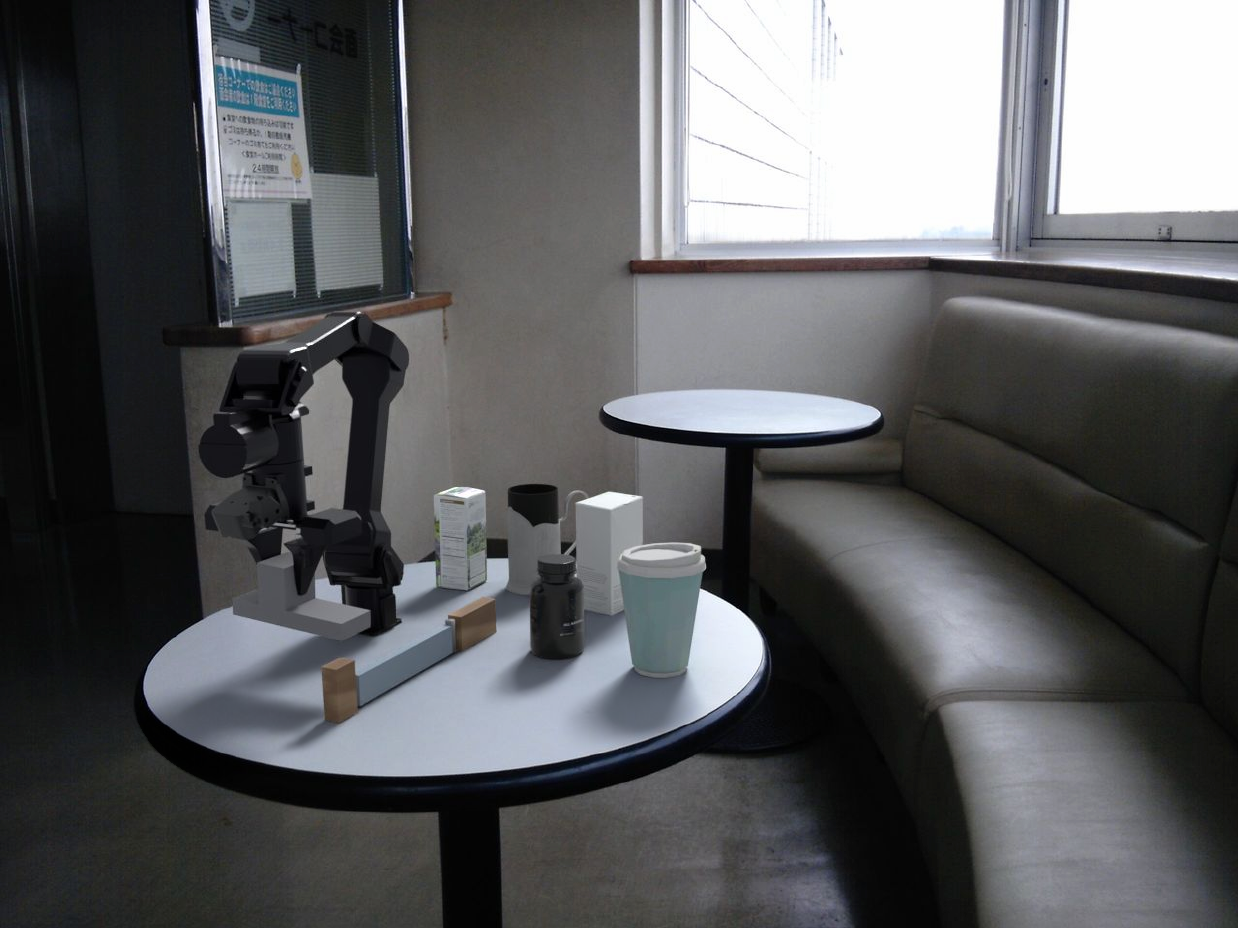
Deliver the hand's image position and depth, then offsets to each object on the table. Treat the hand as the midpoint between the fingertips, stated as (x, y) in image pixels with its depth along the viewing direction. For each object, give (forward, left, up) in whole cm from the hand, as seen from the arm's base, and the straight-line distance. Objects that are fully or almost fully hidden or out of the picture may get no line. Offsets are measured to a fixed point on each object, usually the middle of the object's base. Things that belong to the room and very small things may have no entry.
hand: (287, 592), depth 125 cm
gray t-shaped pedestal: (0, 0, -3) cm, 3 cm away
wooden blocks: (+12, +15, -11) cm, 22 cm away
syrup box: (-3, +40, -11) cm, 41 cm away
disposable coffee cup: (+38, +21, -11) cm, 45 cm away
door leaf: (+12, +15, -11) cm, 22 cm away
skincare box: (+22, +40, -11) cm, 47 cm away
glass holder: (+9, +46, -11) cm, 48 cm away
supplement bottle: (+24, +21, -11) cm, 34 cm away
